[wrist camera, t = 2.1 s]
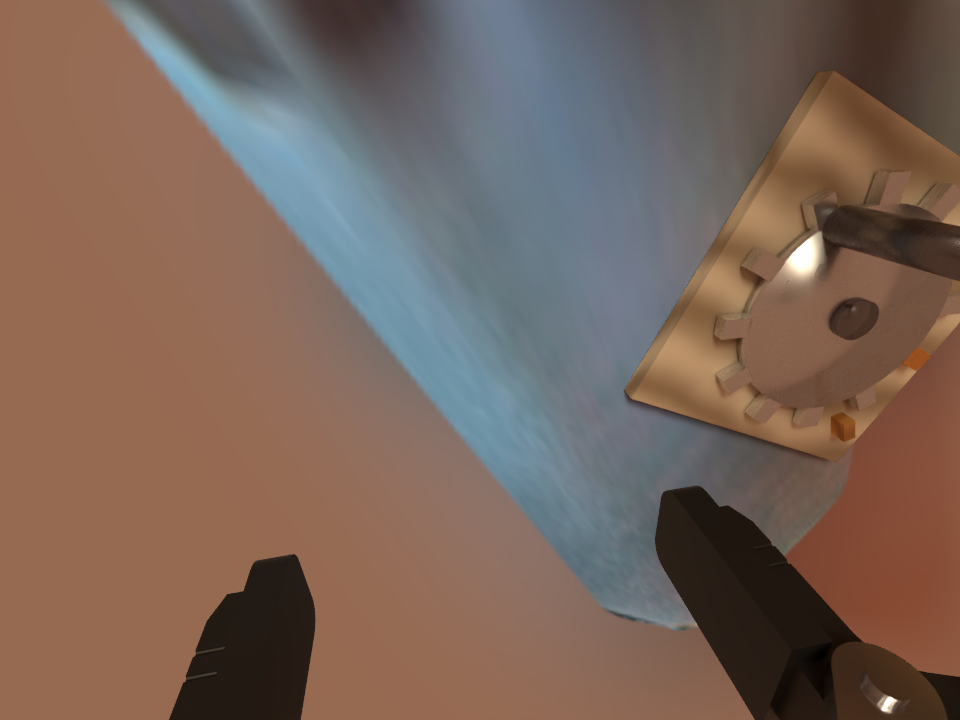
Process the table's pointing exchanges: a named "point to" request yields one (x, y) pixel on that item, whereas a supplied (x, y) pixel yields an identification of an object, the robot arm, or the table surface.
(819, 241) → the sprocket
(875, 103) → the base board
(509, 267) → the table surface
